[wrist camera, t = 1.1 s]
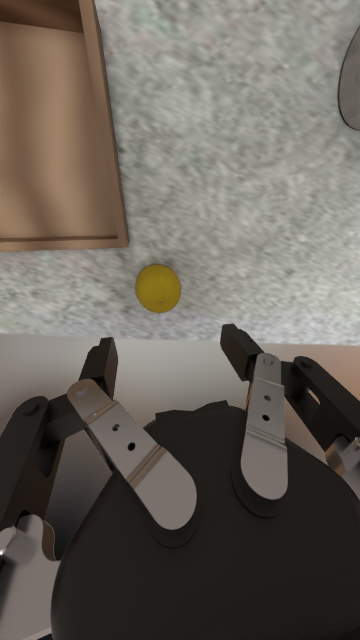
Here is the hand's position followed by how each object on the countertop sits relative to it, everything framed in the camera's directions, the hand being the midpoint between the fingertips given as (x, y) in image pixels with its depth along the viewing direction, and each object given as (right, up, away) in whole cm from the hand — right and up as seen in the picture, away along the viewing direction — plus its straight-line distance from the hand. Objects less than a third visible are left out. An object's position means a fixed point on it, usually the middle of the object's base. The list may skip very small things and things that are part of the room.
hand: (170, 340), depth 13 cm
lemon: (-3, +8, +13) cm, 15 cm away
